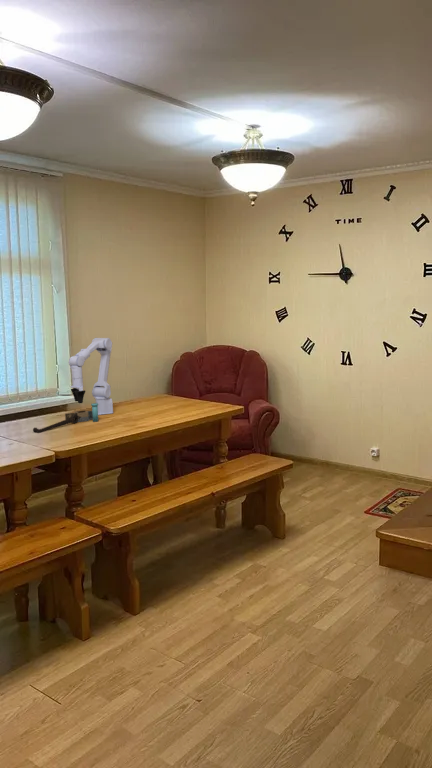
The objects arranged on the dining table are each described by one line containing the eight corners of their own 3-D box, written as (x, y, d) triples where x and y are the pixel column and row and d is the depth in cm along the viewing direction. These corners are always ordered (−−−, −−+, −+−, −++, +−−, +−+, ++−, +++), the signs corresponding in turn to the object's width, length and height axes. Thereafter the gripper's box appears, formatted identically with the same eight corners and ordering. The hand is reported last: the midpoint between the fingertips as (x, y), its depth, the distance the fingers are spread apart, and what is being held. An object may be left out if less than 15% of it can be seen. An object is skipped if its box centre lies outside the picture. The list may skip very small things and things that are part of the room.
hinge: (96, 417, 352) (95, 409, 351) (99, 419, 347) (98, 410, 346) (64, 421, 344) (63, 412, 343) (67, 423, 339) (66, 414, 338)
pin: (97, 420, 345) (97, 402, 344) (100, 421, 342) (99, 403, 340) (91, 421, 344) (90, 403, 342) (93, 422, 340) (92, 404, 339)
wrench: (32, 435, 320) (75, 420, 344) (39, 436, 317) (82, 421, 342) (31, 425, 319) (74, 411, 343) (38, 427, 316) (81, 412, 340)
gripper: (66, 376, 347) (68, 400, 350) (73, 380, 335) (74, 404, 337) (79, 375, 351) (80, 399, 353) (86, 378, 338) (87, 403, 340)
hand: (78, 402), depth 345 cm, fingers open, 7 cm apart
